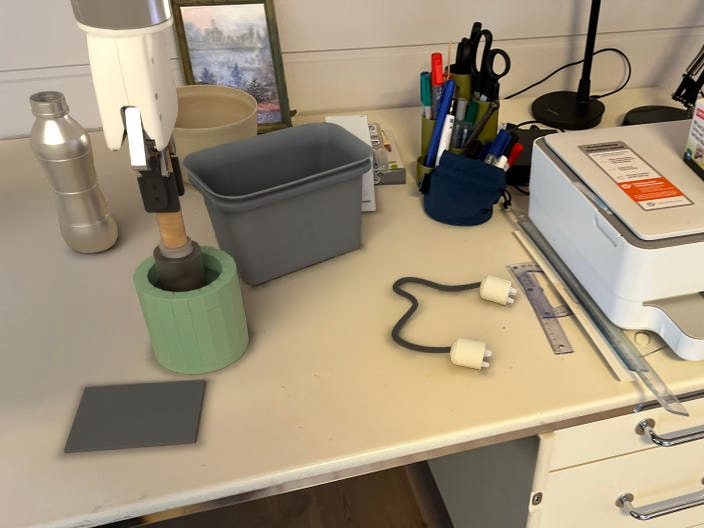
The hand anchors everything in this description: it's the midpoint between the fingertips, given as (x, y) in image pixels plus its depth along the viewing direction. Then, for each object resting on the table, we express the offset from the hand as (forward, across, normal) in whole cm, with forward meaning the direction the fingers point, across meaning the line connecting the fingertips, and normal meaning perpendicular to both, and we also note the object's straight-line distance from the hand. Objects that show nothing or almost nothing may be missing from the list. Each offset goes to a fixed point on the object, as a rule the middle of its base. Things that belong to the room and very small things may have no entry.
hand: (165, 201), depth 74 cm
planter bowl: (+18, -42, -2) cm, 46 cm away
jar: (+18, 0, +1) cm, 18 cm away
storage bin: (+18, -19, +10) cm, 28 cm away
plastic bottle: (+19, -22, -15) cm, 33 cm away
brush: (+11, 0, 0) cm, 11 cm away
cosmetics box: (+18, -34, +19) cm, 43 cm away
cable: (+18, -1, +29) cm, 34 cm away
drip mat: (+18, +11, -4) cm, 22 cm away
